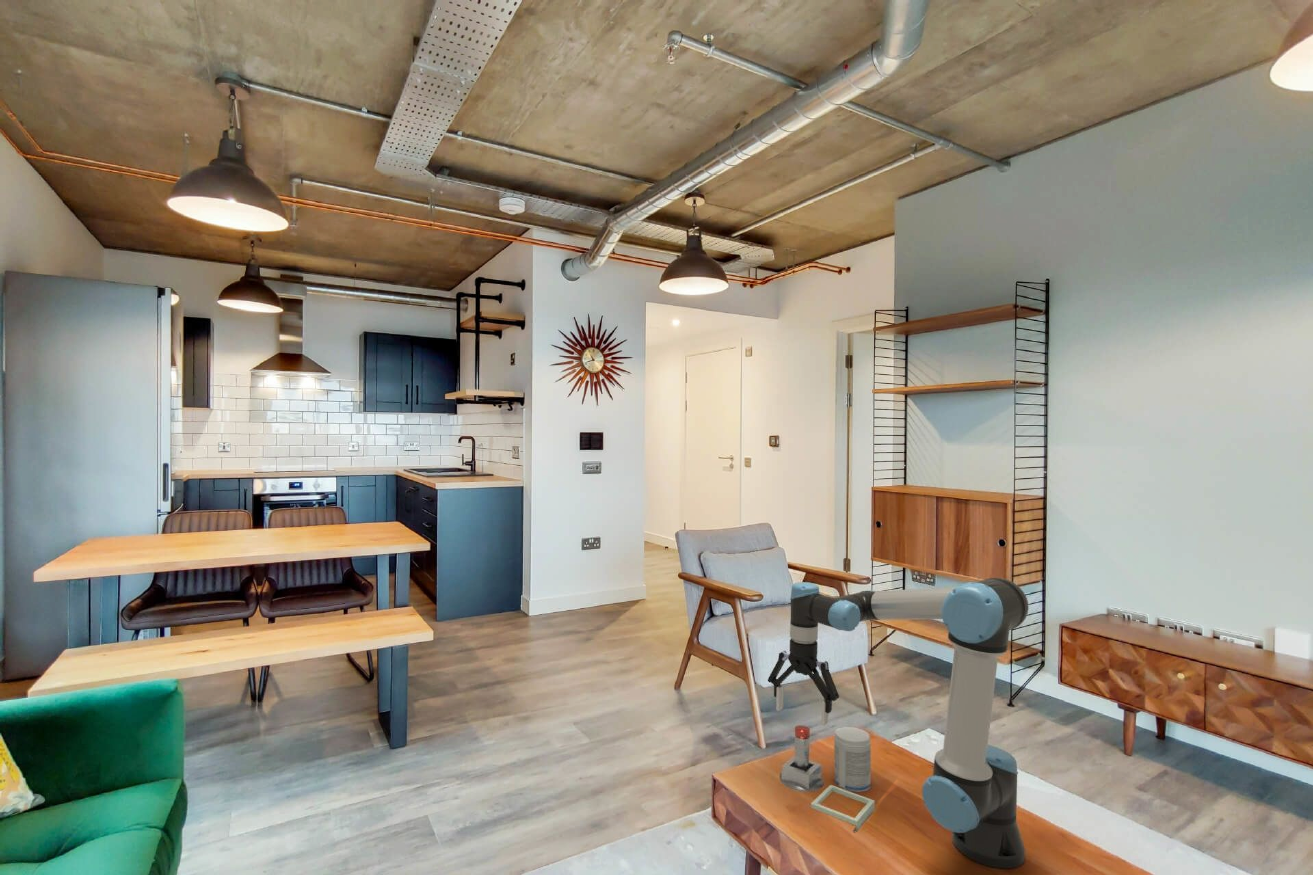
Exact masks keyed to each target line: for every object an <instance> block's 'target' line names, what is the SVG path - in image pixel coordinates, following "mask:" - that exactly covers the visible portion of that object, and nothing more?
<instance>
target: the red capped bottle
mask: <svg viewBox="0 0 1313 875" xmlns="http://www.w3.org/2000/svg"><path fill="white" fill-rule="evenodd" d="M810 732H811V730H810V727H808V726H806V725H796V726H795V727H794V755H793V756H794V767H795V768H798V769H800V770H803V771H807V770H809V760H810V746H811V745H810V742H811V740H810V735H811V734H810Z"/></svg>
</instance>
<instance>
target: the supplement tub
mask: <svg viewBox="0 0 1313 875" xmlns="http://www.w3.org/2000/svg"><path fill="white" fill-rule="evenodd" d="M871 746H872V744H871V735H870V733H868V732H867V731H866V730H864V729H861V728H858V727H853V726H842V727H838V728H837V729H836V730H835V731H834V747H833V748H834V782H835V784H836V785H837V786H838V787H839V788H841V789H844V790H847V791H849V792H866V791H868V790H869V789H871V786H872V784H871V782H872V780H871V774H872V772H871V771H872V768H871V767H872V766H871V764H872V762H871V761H872V759H871V754H872V753H871V752H872V751H871V750H872V748H871Z"/></svg>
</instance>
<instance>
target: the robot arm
mask: <svg viewBox="0 0 1313 875" xmlns="http://www.w3.org/2000/svg"><path fill="white" fill-rule="evenodd" d="M790 592H791V593H790V598H789V599H790V624H789V627H790V628H789V638H790V639H789V653H787V651H786V650H783V651H781V652H779V653H778V657H777V658H778V659H777V661H776V664H775V665H774V667H773V669H772V671H771V673H770V674H769V676H768V679H767V682H769V683H771V684H772V685H773V697H774V698H775V699H776V700H775V702H776V703H775V706H776V708H775V711H777V712H779V711H781V710H783V708H784V685H783V684H782V683H783V682H784V681H785V680H787V678H788V677H789V676H790V675H792V673H793V672H795V673H796V674H801V675H804V676H808V677H809V678H810V679H811V680H812V681H813V683H814V684H815V686H816V688H817V689H818V691H819V692H820V695H821V696H822V697H823V700H822V701H821V722H820V723H821V726H826V725H827V724H828V723H829V714H831V712H832V710H833V707H832V706H833V702H835V701H837V700H838V699H839V698H840V694H839V692H838V690H837V686H836V684H835V682H834V680H833V676H832V675H831V674H832V673H831V672H830V669H829V668H830V667H829V662H828V661H819V660H818V641H817V640H818V638H819V637H818V636H819V635H818V632H819V631H818V630H819V624H820V625H824V626H827V627H830V628H833V629H835V630H838V631H845V632H852V631H854V630H855V629H856V628H857V627H858V626H859V624H860V622H865V621H881V620H882V621H883V620H884V621H885V620H887V621H888V620H891V621H893V620H894V621H895V620H942V622H943V624H944V625H945V626H946V629H947V631H948V635H947V639H948V641H949V643H950V644H951V645H952V646H953V648H954V650H953V658H952V668H951V676H950V683H949V684H950V686H949V695H948V702H947V710H946V719H945V730H944V738H943V748H942V749H940V750H938V751H936V752H935V755H934V761H933V771H932V774H931V775H930V776H928V777H927V778H926V780H925V781H924V782H923V785H922V788H921V797H922V799H923V800H922V801H923V804H924V805H925V808H926V809H927V811H928V812H929V813H930V815H931V818H933V819H934V820H935V821H936V823H938V824H939V825H940V826H941V827H943V828H944V829H946V830H949V831H951V832H952V833H951V836H952V837H951V840H952V843H953V846H954V847H955V848H956V849H957V850H958V851H959V852H960V853H961V854H962V855H964V856H966V857H967V858H968V859H970V860H972V861H974V862H976V863H979V864H981V865H985V866H988V867H991V868H996V869H998V868H999V869H1014V868H1018V867H1020V866H1021V865H1023V864H1024V862H1025V858H1026V857H1025V852H1026V851H1025V850H1026V849H1025V843H1024V840H1023V838H1022V835H1021V831H1020V829H1019V826H1018V822H1017V809H1018V808H1017V807H1018V806H1017V805H1018V804H1017V802H1018V797H1017V796H1018V774H1019V772H1018V766H1017V765H1018V763H1017V760H1016V758H1015V757H1014V755H1012V754H1011V753H1009V752H1008V751H1006V750H1005V749H1002V748H999V747H997V746H995V745H990V744H989V738H990V729H991V721H992V720H991V719H992V713H993V703H994V695H995V688H996V687H995V685H996V678H997V677H996V676H997V669H998V660H999V657H1001V656H1003V655H1005V654H1006V653H1007V651H1008V644H1009V637H1010V631H1011V630H1013V629H1016V628H1018V627H1020V626H1021V625H1022V623H1024V622H1025V620H1026V618H1027V616H1028V614H1029V609H1030V608H1029V602H1028V601H1029V600H1028V597H1027V596H1026V594H1025V592H1024V590H1022V588H1021V587H1020V586H1019V585H1018V584H1016V583H1015V582H1013V581H1012V580H1009V579H1006V578H1003V577H989V578H986V579H983V580H982V579H981V580H979V581H969V582H965V583H962V584H961V585H959V586H952V587H948V586H947V587H936V588H935V587H934V588H933V587H932V588H931V587H929V588H917V589H914V588H913V589H896V590H895V589H894V590H880V591H879V590H878V591H875V590H862V591H860V592H855V593H851V594H846V595H842V596H837V597H831V596H828V595H823V594H820V587H819V585H817V584H816V583H813V582H808V581H805V582H804V581H799V582H798V581H797V582H796V583H795V582H794V583H793V584H792V585H791V590H790ZM786 661H788V662H789V663H790V666H788V667H787V669H786V670H785V671H784V672H783V673H782V674H781V675H780V676H779V673H780V671H781V670H782V669H783V666H784V664H785V662H786ZM817 668H818V669H819V671H820V672H819V671H818V669H817ZM820 673H821V676H822V677H821V676H820ZM778 676H779V677H778ZM823 680H824V681H823Z"/></svg>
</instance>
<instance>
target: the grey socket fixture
mask: <svg viewBox="0 0 1313 875" xmlns="http://www.w3.org/2000/svg"><path fill="white" fill-rule="evenodd" d="M778 778H779V781H780V782H781V783H782V785H784V786H785V787H787V788H789V789H792V790H795V791H798V792H805V793H806V792H807V793H808V792H816V791H818V790H820V789H821V788H823V787H824V784H825V780H824V779H823V778H822V763H818V762H816V761H813V760H810V759H809V770H807V771H803V770H800V769H798V768H795V767H794V755H793V756H792V757H791V758H790V759H788V760H786V762H785V763H784V764H782V765H781V772H780V774H779V777H778Z"/></svg>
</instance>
